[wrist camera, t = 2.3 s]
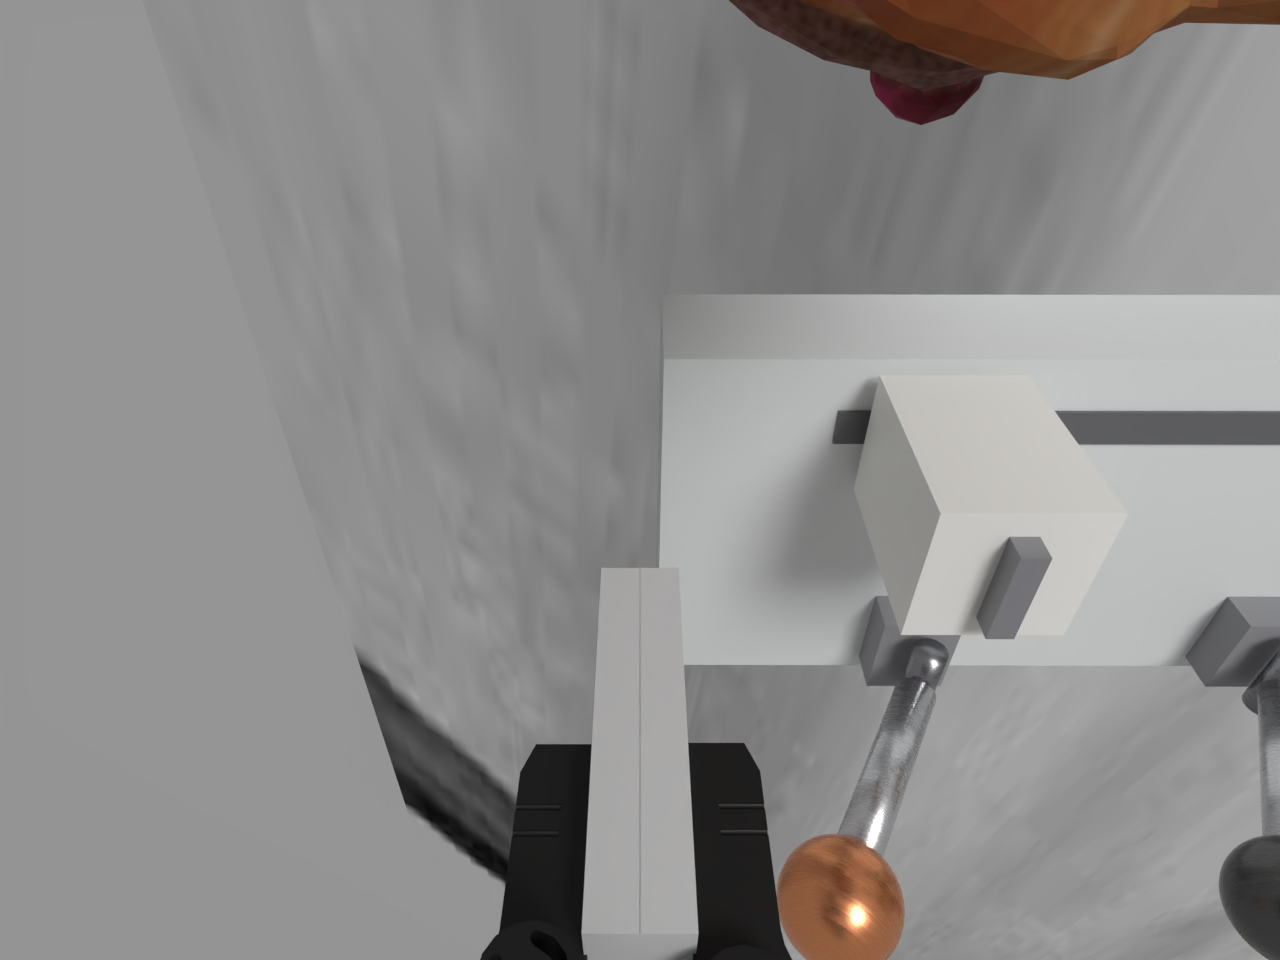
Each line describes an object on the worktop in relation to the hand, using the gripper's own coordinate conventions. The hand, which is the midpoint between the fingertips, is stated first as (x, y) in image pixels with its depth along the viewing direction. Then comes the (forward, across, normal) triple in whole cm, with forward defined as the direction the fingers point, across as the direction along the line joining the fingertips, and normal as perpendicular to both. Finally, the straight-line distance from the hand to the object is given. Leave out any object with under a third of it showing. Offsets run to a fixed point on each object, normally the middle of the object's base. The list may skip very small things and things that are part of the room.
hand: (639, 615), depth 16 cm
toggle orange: (+4, +9, -8) cm, 12 cm away
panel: (+10, +13, -4) cm, 17 cm away
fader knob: (+6, +8, 0) cm, 10 cm away
